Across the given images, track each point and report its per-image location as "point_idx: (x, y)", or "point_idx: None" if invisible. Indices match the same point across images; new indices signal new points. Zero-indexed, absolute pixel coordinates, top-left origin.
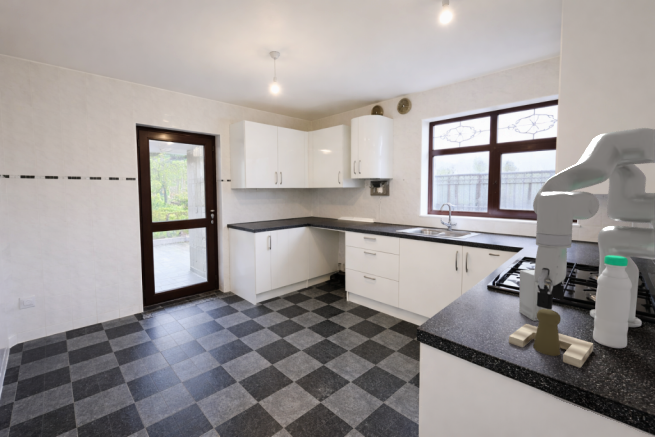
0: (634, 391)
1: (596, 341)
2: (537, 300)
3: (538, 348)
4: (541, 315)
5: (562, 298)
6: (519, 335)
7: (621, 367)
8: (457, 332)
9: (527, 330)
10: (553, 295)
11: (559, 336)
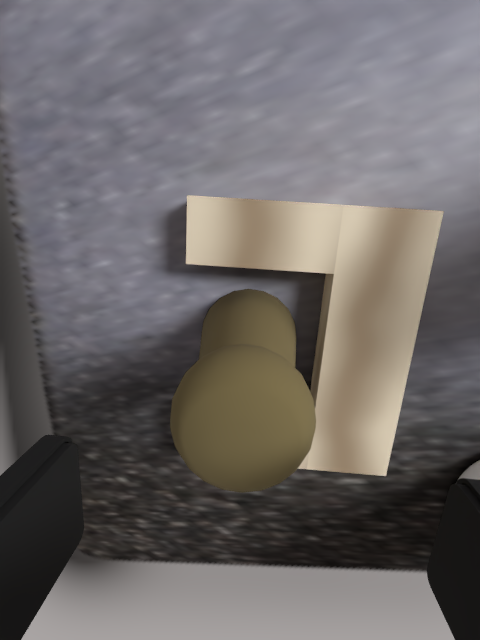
0: (160, 540)
1: (477, 461)
2: (4, 477)
3: (205, 319)
4: (177, 395)
5: (438, 593)
6: (235, 233)
7: (294, 519)
8: None
9: (336, 245)
10: (458, 540)
11: (368, 373)
